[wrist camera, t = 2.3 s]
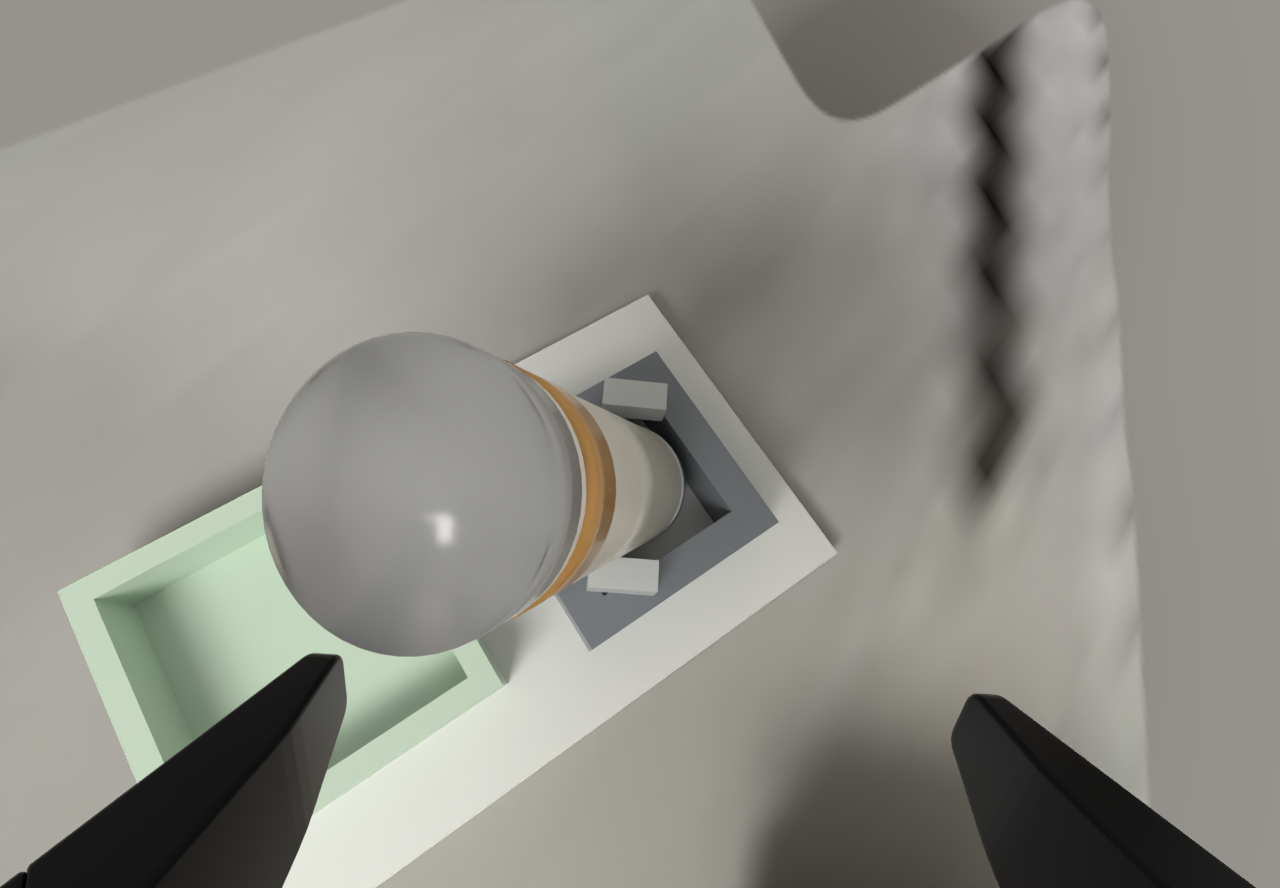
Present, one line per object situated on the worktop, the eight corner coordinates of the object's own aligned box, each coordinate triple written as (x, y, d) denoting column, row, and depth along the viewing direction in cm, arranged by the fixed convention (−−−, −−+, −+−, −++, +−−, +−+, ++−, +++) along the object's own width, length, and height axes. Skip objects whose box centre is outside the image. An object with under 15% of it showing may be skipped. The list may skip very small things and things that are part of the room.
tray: (235, 867, 18) (184, 898, 16) (118, 600, 20) (57, 591, 18) (509, 683, 21) (502, 684, 18) (381, 460, 23) (359, 434, 20)
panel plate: (253, 973, 18) (243, 983, 17) (90, 595, 20) (77, 593, 20) (830, 555, 23) (837, 552, 23) (645, 302, 26) (647, 294, 25)
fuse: (613, 569, 22) (367, 722, 8) (545, 472, 22) (208, 459, 9) (710, 498, 21) (627, 529, 8) (638, 401, 22) (440, 267, 8)
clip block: (588, 652, 21) (593, 648, 18) (482, 478, 23) (467, 442, 19) (754, 538, 23) (789, 514, 20) (646, 385, 25) (660, 336, 21)
